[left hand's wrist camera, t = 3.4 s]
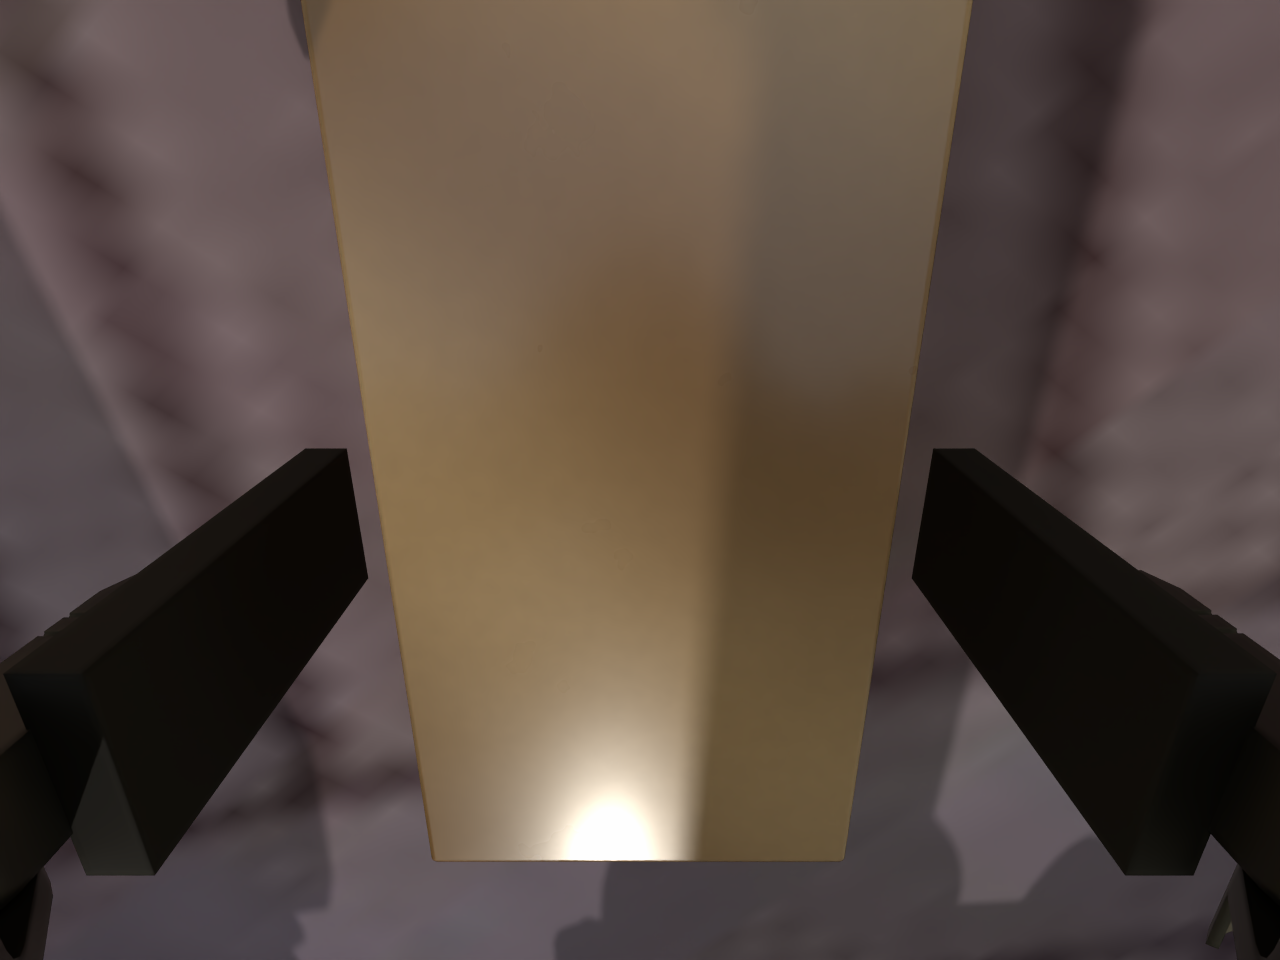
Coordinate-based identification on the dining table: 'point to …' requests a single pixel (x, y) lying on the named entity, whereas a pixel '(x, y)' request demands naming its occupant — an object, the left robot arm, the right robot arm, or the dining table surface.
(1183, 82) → the dining table surface
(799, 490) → the brass rectangular prism
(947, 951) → the dining table surface
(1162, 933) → the dining table surface
